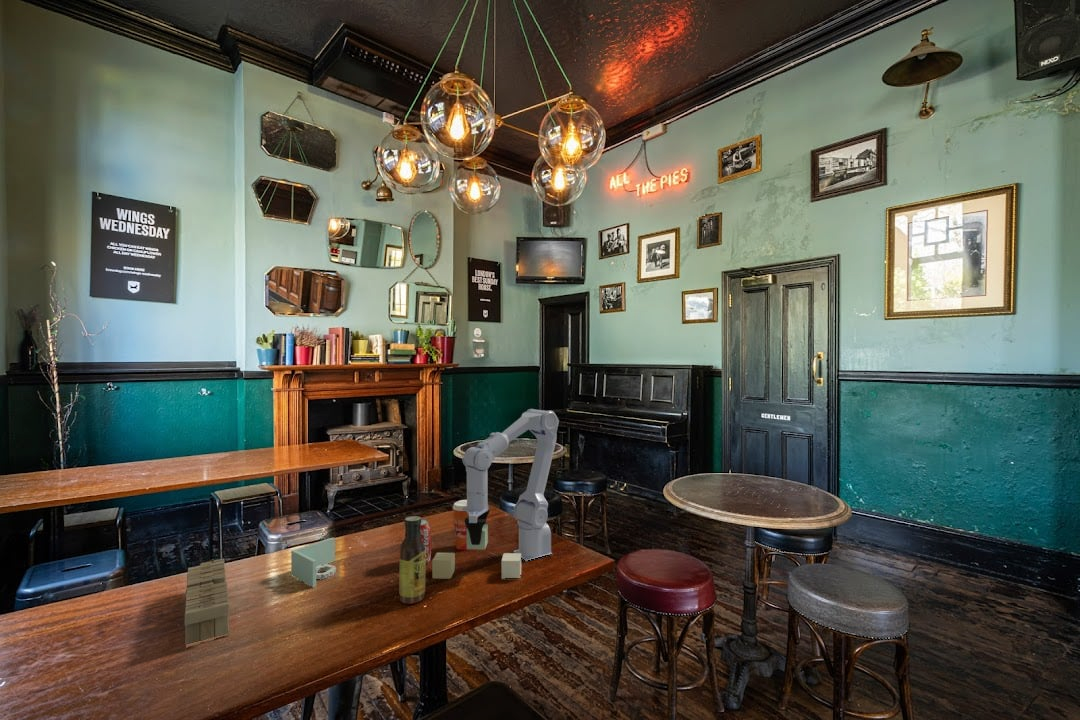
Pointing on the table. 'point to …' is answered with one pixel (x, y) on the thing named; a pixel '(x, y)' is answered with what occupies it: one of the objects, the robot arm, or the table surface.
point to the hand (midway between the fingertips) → (477, 540)
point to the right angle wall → (313, 561)
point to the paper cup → (460, 524)
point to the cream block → (511, 565)
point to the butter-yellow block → (443, 565)
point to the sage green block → (483, 539)
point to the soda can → (426, 538)
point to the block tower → (206, 602)
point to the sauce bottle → (412, 563)
